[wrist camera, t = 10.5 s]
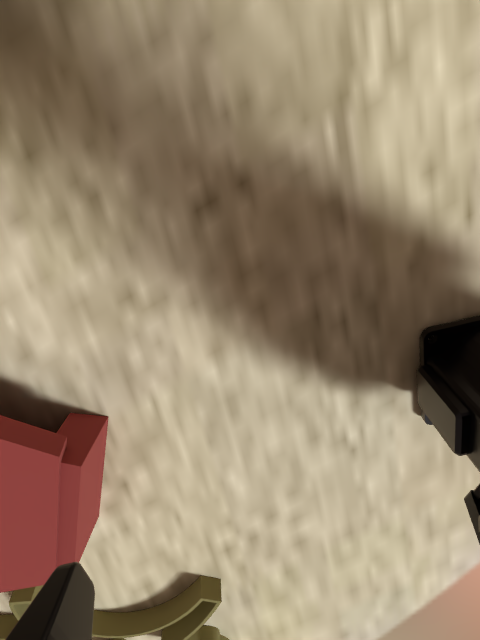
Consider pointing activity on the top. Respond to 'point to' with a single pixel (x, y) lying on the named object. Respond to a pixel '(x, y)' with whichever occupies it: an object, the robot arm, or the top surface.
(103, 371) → the top surface
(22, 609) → the cookie cutter
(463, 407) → the robot arm
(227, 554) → the top surface
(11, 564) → the red wedge doorstop
